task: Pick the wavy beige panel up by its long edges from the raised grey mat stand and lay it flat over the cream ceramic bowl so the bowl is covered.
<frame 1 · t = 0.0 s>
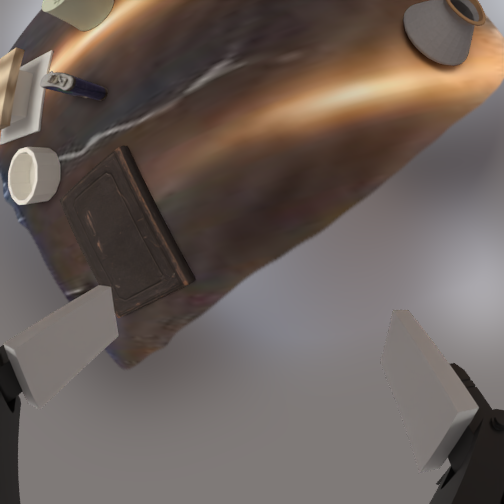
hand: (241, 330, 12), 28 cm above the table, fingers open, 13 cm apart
flask: (90, 91, 38), on the table
hardcover book: (123, 234, 44), on the table
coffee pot: (410, 17, 28), on the table
wavy beige panel: (1, 94, 33), point 7 cm above the table, touching mat stand
bowl: (44, 174, 43), on the table
can: (95, 12, 34), on the table
mat stand: (23, 98, 40), on the table
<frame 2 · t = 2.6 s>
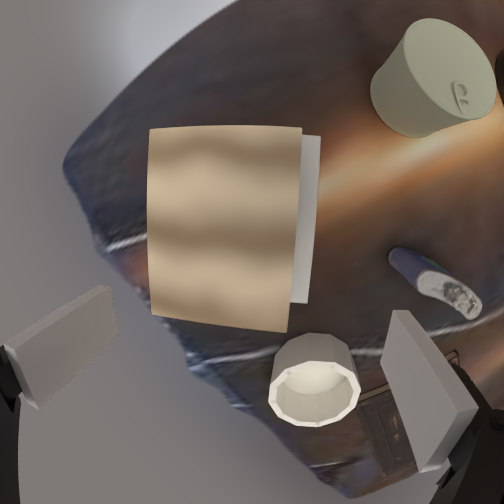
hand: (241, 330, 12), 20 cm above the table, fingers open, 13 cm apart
flask: (419, 267, 30), on the table
hardcover book: (415, 418, 35), on the table
wavy beige panel: (224, 225, 25), point 7 cm above the table, touching mat stand
bowl: (313, 366, 34), on the table
can: (407, 99, 25), on the table
mat stand: (240, 216, 31), on the table
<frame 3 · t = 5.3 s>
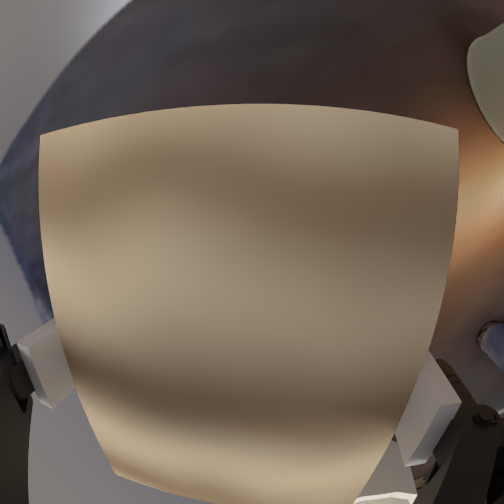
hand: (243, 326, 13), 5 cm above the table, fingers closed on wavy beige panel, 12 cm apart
wavy beige panel: (232, 355, 10), point 7 cm above the table, touching gripper, mat stand
bowl: (355, 469, 20), on the table
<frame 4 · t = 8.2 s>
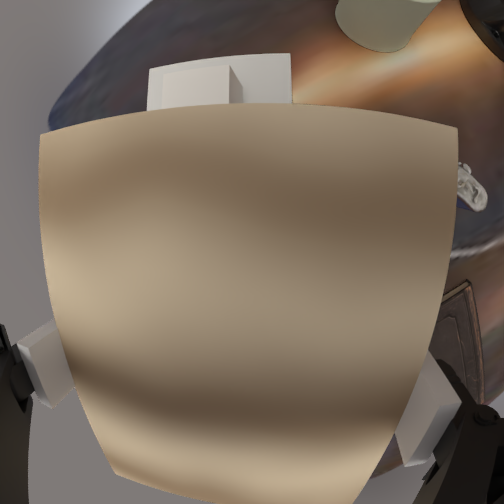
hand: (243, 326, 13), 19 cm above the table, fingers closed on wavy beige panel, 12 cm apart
flask: (411, 177, 27), on the table
hardcover book: (431, 371, 32), on the table
wavy beige panel: (231, 354, 10), point 21 cm above the table, touching gripper
can: (373, 21, 23), on the table
mat stand: (215, 134, 29), on the table
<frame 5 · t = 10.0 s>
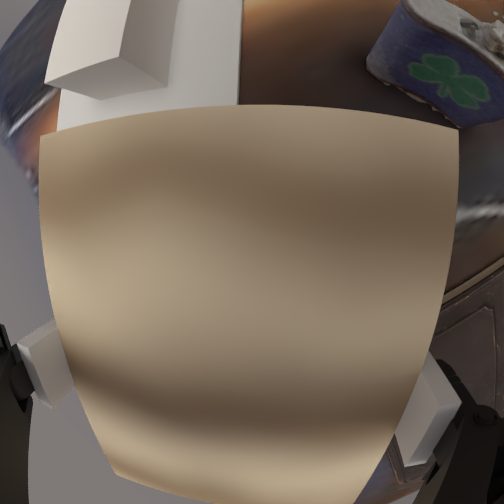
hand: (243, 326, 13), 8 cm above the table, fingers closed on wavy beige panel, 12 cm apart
flask: (422, 89, 15), on the table
hardcover book: (450, 388, 21), on the table
wavy beige panel: (232, 355, 10), point 10 cm above the table, touching gripper
mat stand: (142, 40, 17), on the table
when the fingers open (5 cm above the table, at t = 11.5 s): wavy beige panel drops 1 cm, resting on bowl.
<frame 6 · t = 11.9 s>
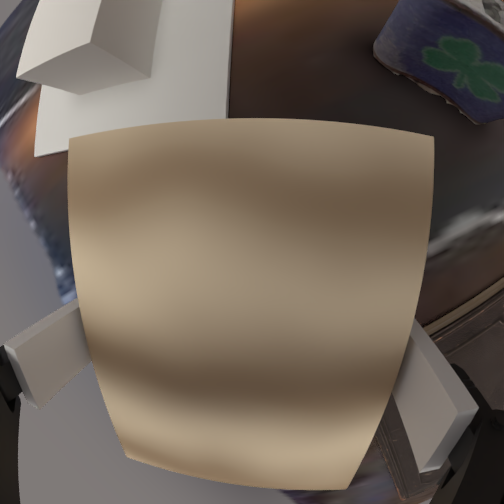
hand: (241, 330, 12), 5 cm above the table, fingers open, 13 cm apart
flask: (435, 80, 13), on the table
hardcover book: (457, 404, 18), on the table
wavy beige panel: (239, 336, 12), point 6 cm above the table, touching bowl
mat stand: (126, 30, 15), on the table
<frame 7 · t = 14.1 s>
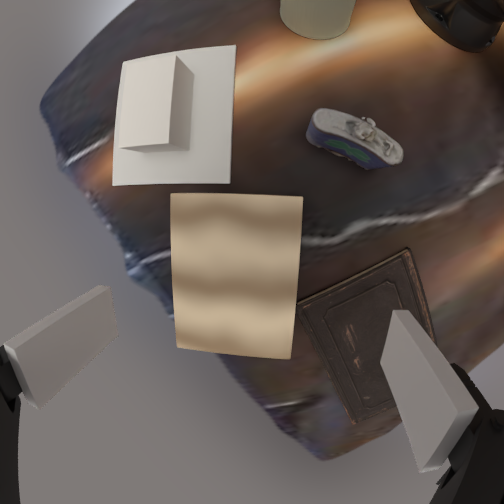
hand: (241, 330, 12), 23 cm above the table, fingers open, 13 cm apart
flask: (343, 147, 31), on the table
hardcover book: (378, 343, 36), on the table
wavy beige panel: (236, 273, 29), point 6 cm above the table, touching bowl
can: (315, 14, 27), on the table
mat stand: (170, 113, 32), on the table
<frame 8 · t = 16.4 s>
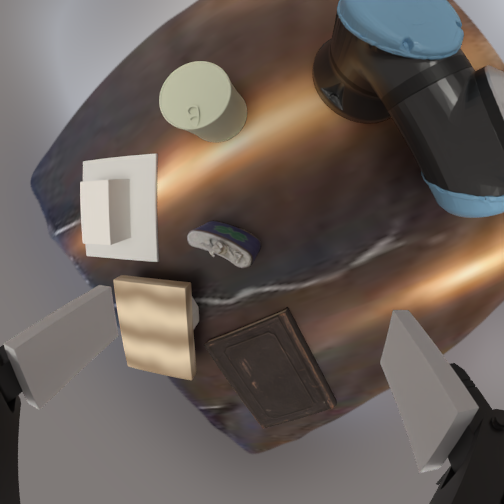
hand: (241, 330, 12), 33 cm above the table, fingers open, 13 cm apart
flask: (233, 235, 45), on the table
hardcover book: (275, 371, 51), on the table
wavy beige panel: (158, 325, 44), point 6 cm above the table, touching bowl
can: (218, 114, 41), on the table
mat stand: (117, 208, 47), on the table
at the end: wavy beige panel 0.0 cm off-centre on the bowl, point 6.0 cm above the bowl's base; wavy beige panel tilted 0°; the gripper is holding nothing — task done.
